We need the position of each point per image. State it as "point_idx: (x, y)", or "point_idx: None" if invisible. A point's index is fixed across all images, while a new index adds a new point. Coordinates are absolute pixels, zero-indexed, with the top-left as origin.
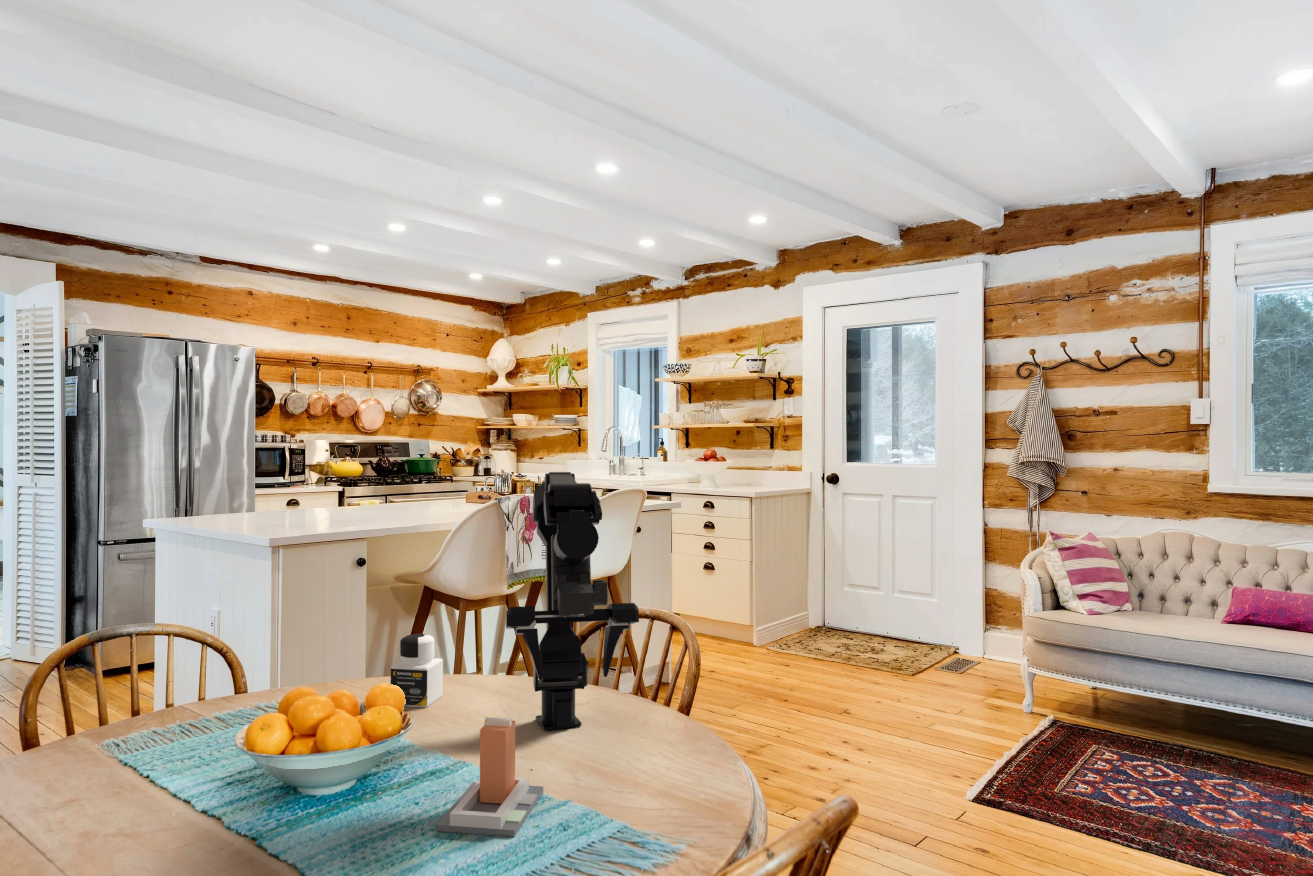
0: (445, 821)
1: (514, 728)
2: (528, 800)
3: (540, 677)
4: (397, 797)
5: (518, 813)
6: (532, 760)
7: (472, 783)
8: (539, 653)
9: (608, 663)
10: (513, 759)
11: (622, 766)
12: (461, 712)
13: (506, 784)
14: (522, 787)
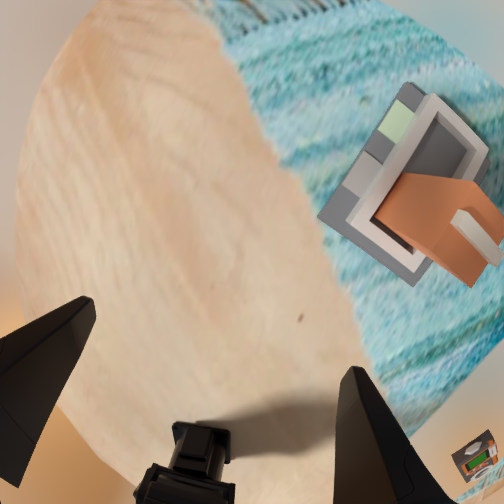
0: (481, 165)
1: (427, 239)
2: (363, 166)
3: (360, 370)
4: (490, 292)
5: (392, 126)
6: (285, 350)
7: (416, 282)
8: (384, 454)
9: (49, 317)
10: (401, 219)
11: (148, 265)
12: (310, 493)
13: (412, 178)
14: (373, 188)
